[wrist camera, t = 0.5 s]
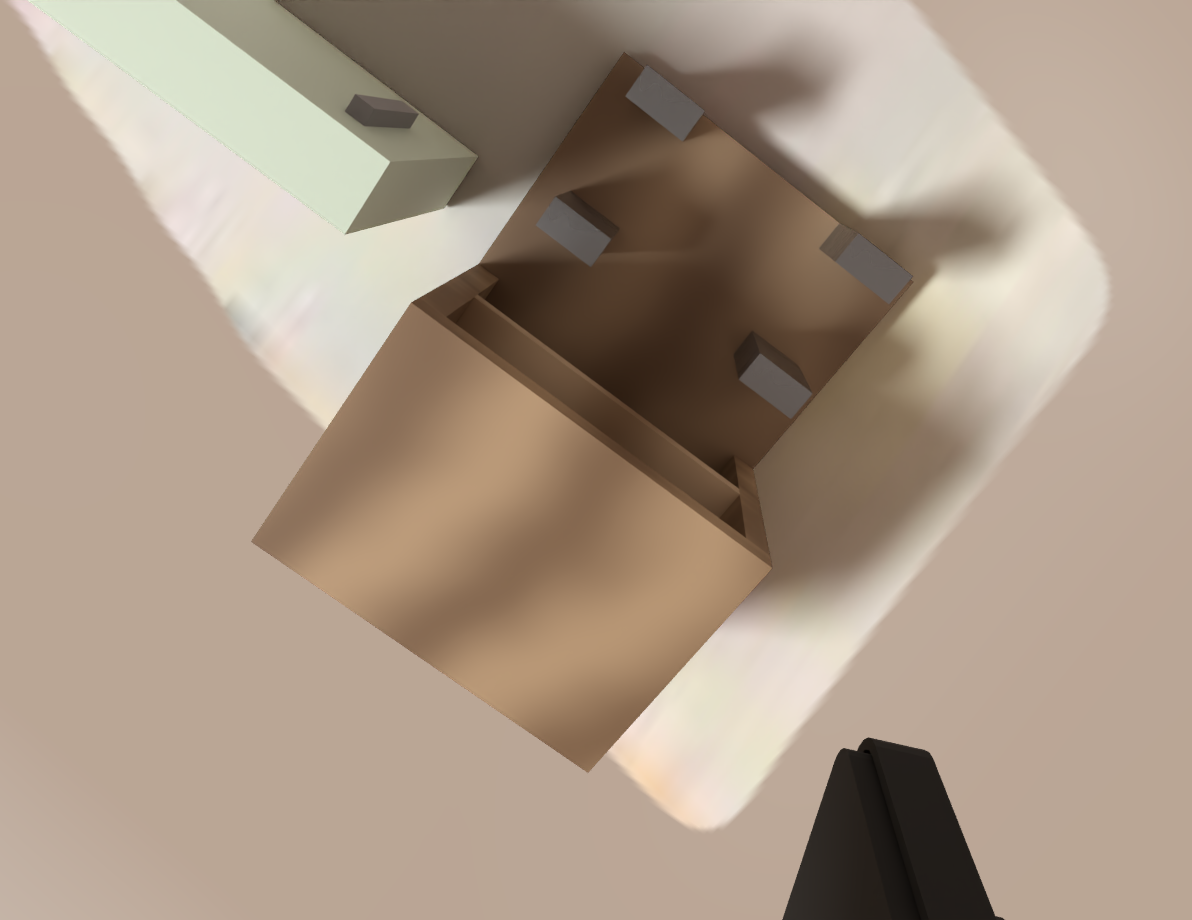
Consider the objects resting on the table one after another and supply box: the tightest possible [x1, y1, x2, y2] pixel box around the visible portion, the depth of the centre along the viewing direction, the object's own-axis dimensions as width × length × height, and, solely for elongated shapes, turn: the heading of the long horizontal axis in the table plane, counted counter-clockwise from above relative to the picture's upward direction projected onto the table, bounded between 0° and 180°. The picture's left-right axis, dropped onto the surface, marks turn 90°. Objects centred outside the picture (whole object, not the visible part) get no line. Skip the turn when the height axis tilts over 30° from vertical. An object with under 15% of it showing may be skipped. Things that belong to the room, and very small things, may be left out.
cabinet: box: [252, 52, 913, 772], centre depth 36 cm, size 14×20×11 cm
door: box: [28, 0, 478, 234], centre depth 33 cm, size 11×3×12 cm, turn 53°
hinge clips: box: [536, 65, 913, 419], centre depth 36 cm, size 11×6×4 cm, turn 54°
